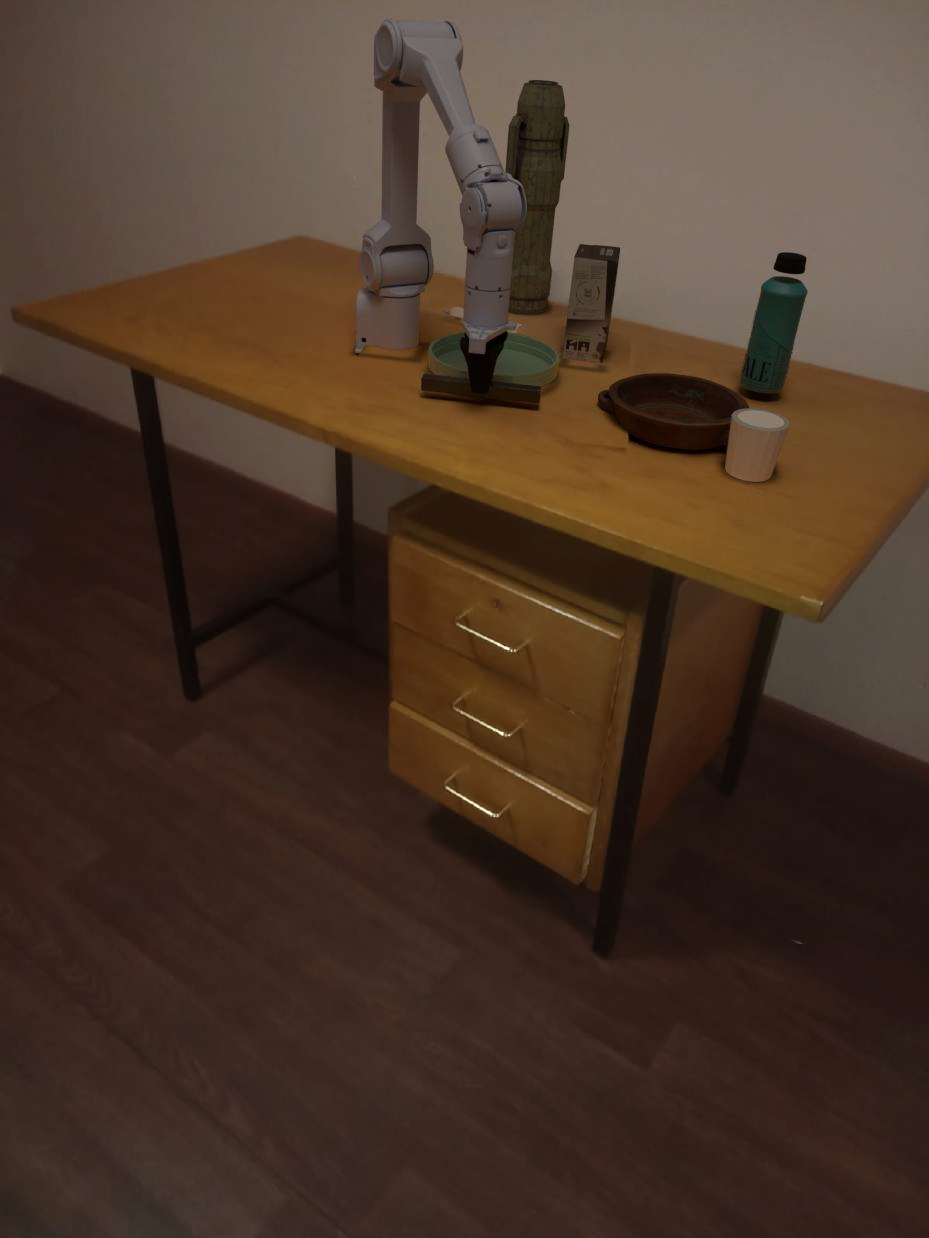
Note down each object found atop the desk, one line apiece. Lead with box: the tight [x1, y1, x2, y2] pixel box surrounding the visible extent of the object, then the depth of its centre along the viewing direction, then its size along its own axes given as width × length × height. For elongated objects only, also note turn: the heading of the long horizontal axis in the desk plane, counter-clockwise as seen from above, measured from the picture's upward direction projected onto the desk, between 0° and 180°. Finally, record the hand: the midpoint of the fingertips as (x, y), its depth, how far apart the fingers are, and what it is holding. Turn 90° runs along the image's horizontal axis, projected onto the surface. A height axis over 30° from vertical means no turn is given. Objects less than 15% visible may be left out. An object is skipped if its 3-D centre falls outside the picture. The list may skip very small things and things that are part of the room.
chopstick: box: [420, 373, 543, 405], centre depth 127 cm, size 2×16×2 cm, turn 81°
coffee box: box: [561, 243, 621, 364], centre depth 144 cm, size 9×6×16 cm
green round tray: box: [427, 331, 560, 388], centre depth 139 cm, size 19×19×4 cm
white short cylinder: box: [724, 407, 791, 483], centre depth 116 cm, size 7×7×7 cm
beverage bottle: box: [740, 251, 809, 394], centre depth 134 cm, size 6×7×20 cm
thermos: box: [504, 79, 570, 315], centre depth 159 cm, size 9×12×35 cm
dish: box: [597, 372, 750, 451], centre depth 125 cm, size 18×22×5 cm
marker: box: [442, 306, 524, 334], centre depth 158 cm, size 3×2×16 cm
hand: (480, 389), depth 127 cm, fingers closed on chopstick, 2 cm apart
